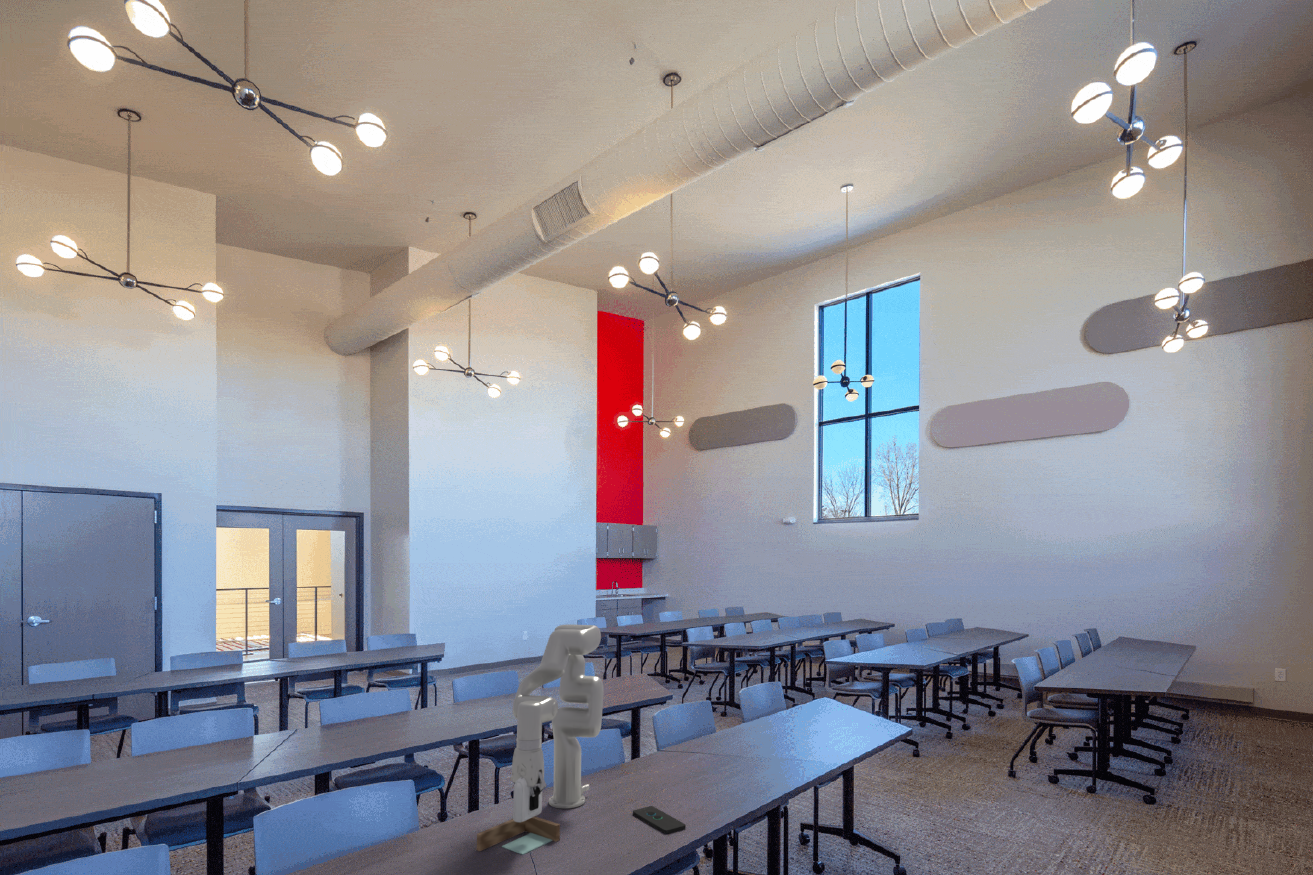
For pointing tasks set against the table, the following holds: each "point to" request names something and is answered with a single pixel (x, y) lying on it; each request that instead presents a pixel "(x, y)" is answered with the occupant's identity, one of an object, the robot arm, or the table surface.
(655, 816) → the smart home device
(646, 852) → the table surface
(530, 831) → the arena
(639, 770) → the table surface
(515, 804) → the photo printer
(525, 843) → the pad
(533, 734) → the robot arm
